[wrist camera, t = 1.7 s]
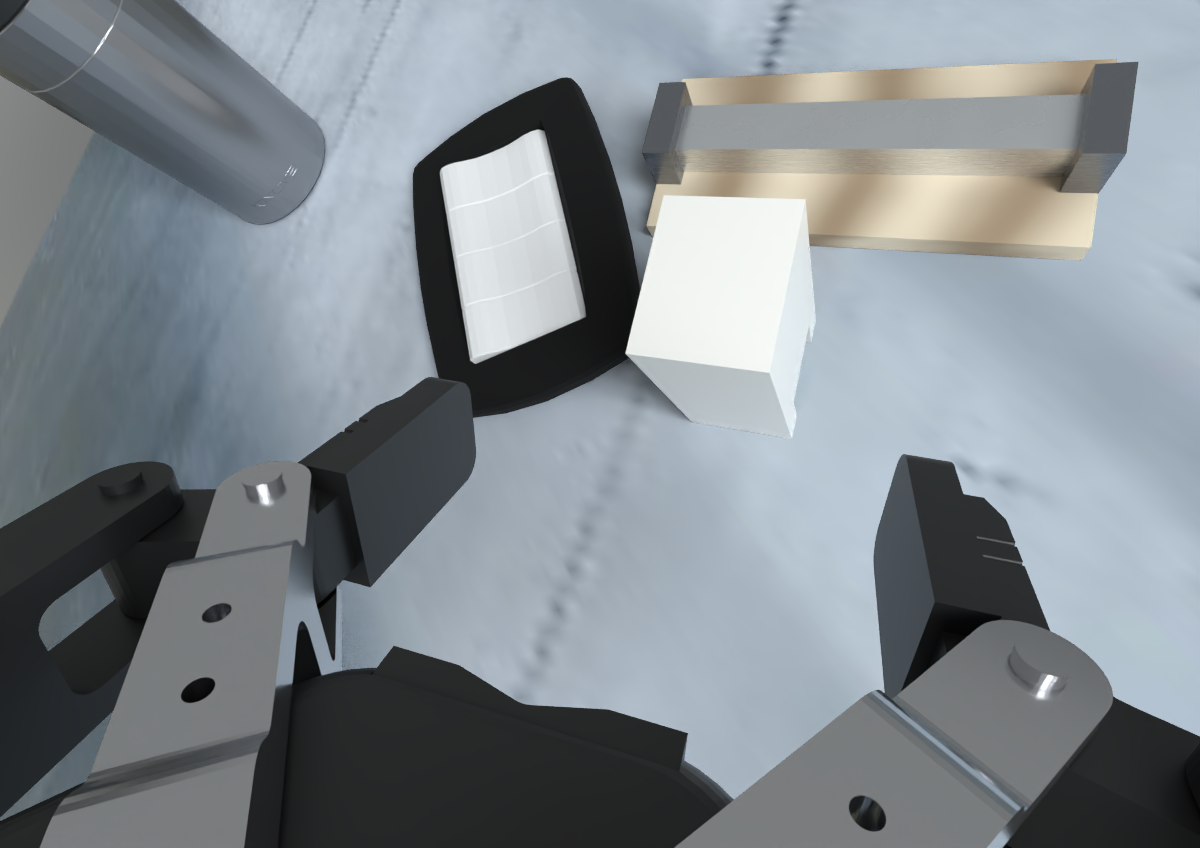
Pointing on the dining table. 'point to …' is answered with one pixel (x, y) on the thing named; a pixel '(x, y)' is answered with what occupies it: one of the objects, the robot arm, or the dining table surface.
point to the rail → (902, 135)
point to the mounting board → (911, 202)
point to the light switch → (524, 252)
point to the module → (727, 310)
